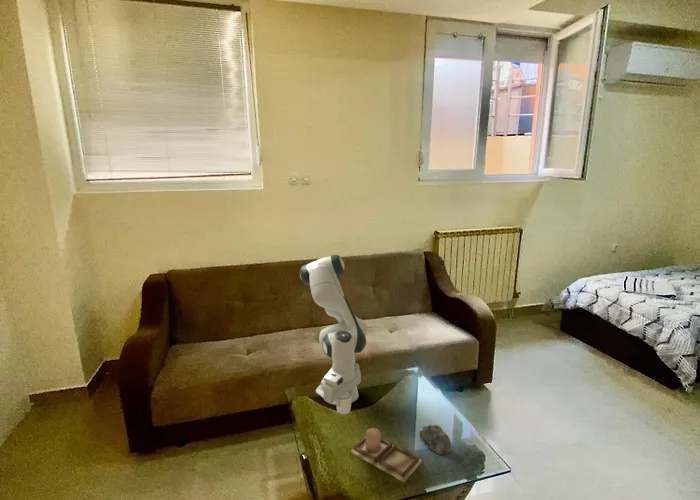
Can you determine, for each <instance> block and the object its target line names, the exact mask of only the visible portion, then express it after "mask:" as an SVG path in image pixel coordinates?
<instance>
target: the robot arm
mask: <svg viewBox="0 0 700 500" xmlns="http://www.w3.org/2000/svg"><path fill="white" fill-rule="evenodd" d="M344 272H345V263H344V260H343V258H342V257H341V256H340V255H339V254H332V255H330V256H325V257H321V258H318V259H316V260H314V261H311V262H309V263H306V264H304V265H302V266H301V267H300V268H299V278H300V280H301V281H302V282H303V284H304V285H306V286H309V287H310V288H309V289H310V293H311V297H312V299H313V301H314V303H315V304H316V305H317V306H319V307H321V308H324V311H325V313H326V314H327V315H328V316H329V317H332V318H335V319H336V321H337V322H338V323H334V324H331V325H328V326H327V327H325V328H322V329H321V330H320V332H319V336H318V340H319V344H320V345H321V346H322V351H323V353H324V354H325V355H326V356H327V357H328V358H330V359H332V365H331V368H330V369H329V370H328V372H327V373H326V374H325V375H324V377H323V378H322V380H321V381H320V384H319V386H318V387H317V388H316V389H315V394H317V395H319V396H320V397H322V399H323V401H325V402H327V403H328V404H330V405H335V407H336V408H337V407H339V406H340V402H339V399H340V397H342V396H343V395H344V394H346V393H347V392H348V391H350V392H351V393H352V399H351V403H354V402H356V401H357V400H358V398H359V392H358V386H359V384H360V383H361V382H362V373H361V370H360V364H359V363H356V355H355V354H359V353H361V352H363V350H364V349H365V348H366V345H367V339H366V336H367V335H368V326H367V324H366V322H365V321H364V319H361V318H359V317H358V316H356V315H355V313H354V310H353V309H352V307H351V305H350V303H349V301H348V299H347V297H346V296H345V294H344V291H343V288H342V286H341V282H340V280H341V279H342V278H341V277H342V276H343V274H344Z"/></svg>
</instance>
